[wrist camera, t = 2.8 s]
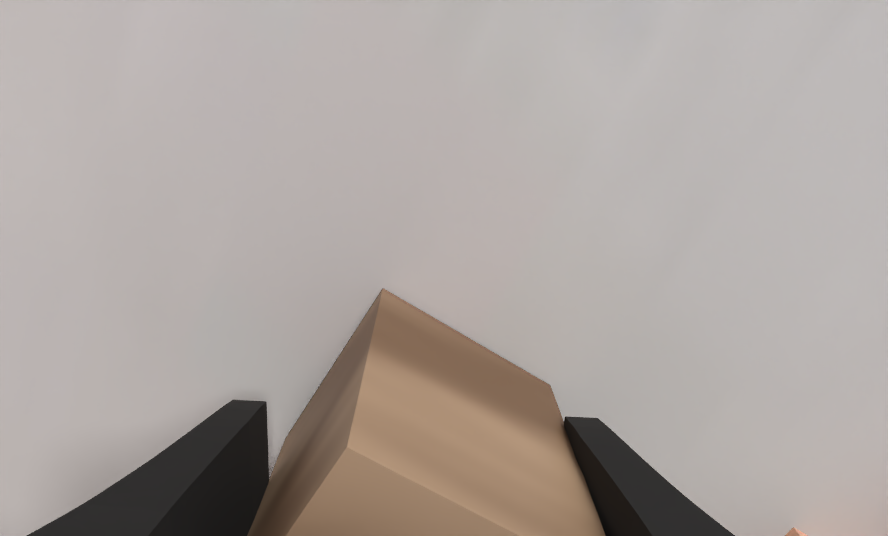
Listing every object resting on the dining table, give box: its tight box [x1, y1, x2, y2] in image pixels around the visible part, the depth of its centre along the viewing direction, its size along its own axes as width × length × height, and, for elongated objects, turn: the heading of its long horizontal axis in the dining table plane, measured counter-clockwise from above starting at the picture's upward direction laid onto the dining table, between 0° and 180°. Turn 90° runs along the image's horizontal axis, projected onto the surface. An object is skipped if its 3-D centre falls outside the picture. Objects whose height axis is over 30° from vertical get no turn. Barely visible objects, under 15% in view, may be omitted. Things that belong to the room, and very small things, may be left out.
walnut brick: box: [247, 289, 606, 536], centre depth 10 cm, size 4×4×5 cm
